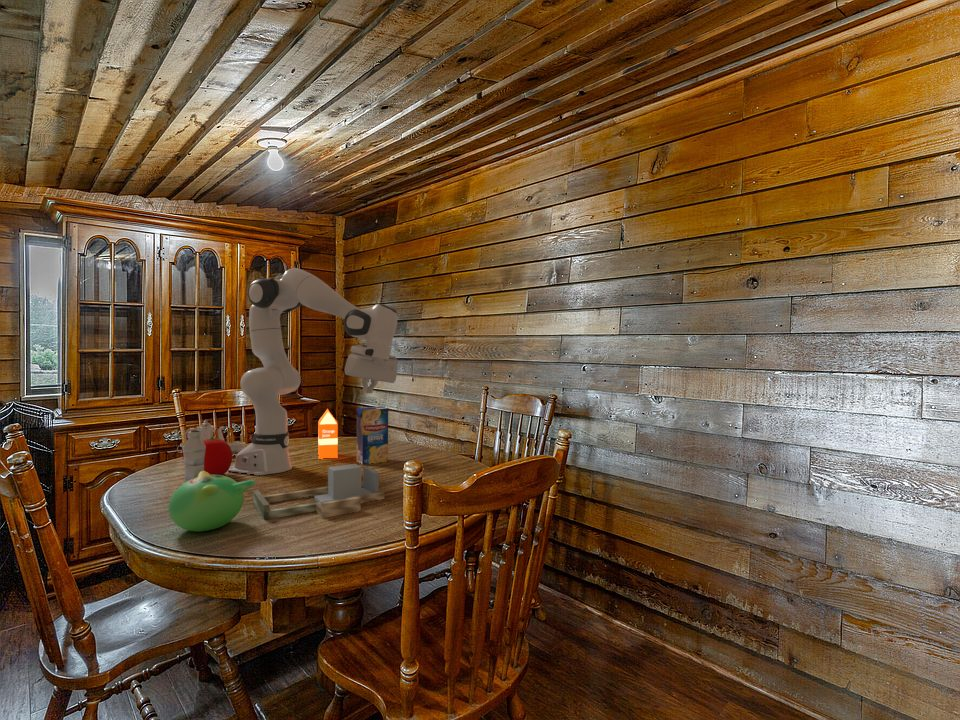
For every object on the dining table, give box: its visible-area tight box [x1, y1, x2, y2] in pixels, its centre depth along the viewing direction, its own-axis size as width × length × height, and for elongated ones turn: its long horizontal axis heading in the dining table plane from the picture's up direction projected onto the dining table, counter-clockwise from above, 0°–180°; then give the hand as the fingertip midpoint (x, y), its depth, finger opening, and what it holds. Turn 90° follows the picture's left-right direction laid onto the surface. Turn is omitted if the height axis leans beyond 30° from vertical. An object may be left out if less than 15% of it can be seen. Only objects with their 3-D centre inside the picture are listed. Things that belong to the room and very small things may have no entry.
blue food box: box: [356, 405, 389, 466], centre depth 213 cm, size 7×11×22 cm, turn 124°
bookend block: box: [313, 463, 380, 503], centre depth 166 cm, size 18×10×10 cm, turn 124°
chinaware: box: [176, 419, 246, 455], centre depth 217 cm, size 28×17×17 cm, turn 98°
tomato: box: [203, 436, 233, 476], centre depth 188 cm, size 13×11×14 cm
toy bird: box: [168, 471, 257, 533], centre depth 138 cm, size 18×17×15 cm
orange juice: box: [317, 408, 339, 460], centre depth 221 cm, size 8×9×20 cm
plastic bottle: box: [182, 430, 206, 484], centre depth 167 cm, size 6×7×20 cm
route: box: [252, 480, 385, 521], centre depth 158 cm, size 36×23×4 cm, turn 124°
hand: (367, 392), depth 175 cm, fingers closed
